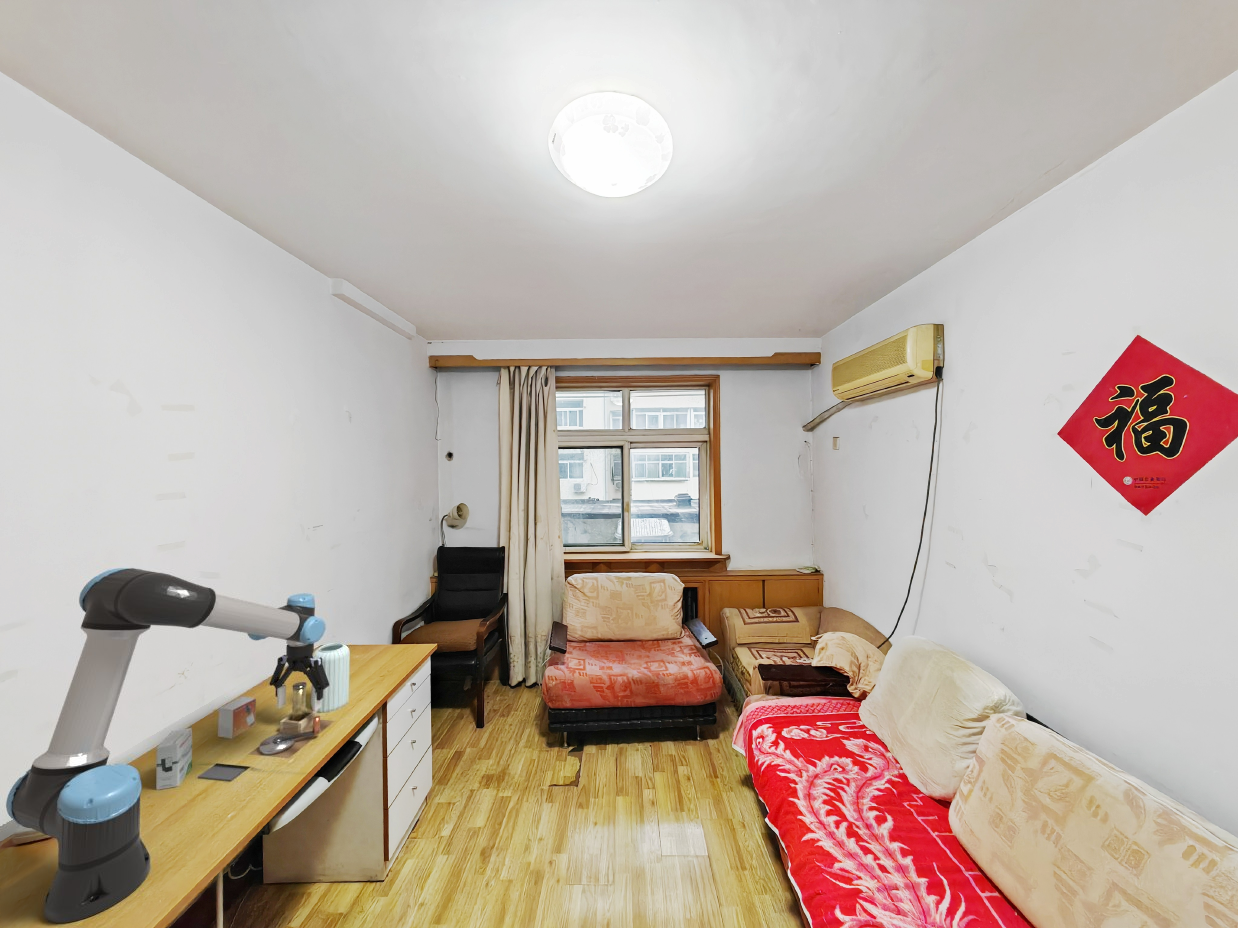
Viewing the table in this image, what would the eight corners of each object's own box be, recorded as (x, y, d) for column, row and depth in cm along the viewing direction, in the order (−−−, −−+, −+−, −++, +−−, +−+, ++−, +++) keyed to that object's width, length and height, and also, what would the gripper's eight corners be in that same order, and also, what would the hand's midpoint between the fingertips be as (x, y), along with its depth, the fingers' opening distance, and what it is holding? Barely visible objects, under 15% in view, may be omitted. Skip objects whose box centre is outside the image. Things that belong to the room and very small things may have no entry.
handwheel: (319, 743, 150) (319, 723, 150) (257, 757, 142) (257, 736, 142) (320, 728, 157) (320, 709, 157) (261, 741, 150) (261, 721, 150)
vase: (347, 697, 181) (348, 638, 181) (349, 711, 171) (351, 649, 171) (311, 705, 175) (312, 644, 174) (311, 720, 165) (312, 656, 165)
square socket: (300, 734, 155) (300, 723, 155) (279, 732, 155) (279, 721, 155) (316, 721, 162) (316, 711, 162) (296, 719, 163) (296, 709, 162)
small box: (231, 743, 151) (232, 710, 151) (217, 740, 152) (217, 707, 152) (255, 729, 159) (256, 697, 159) (241, 726, 160) (242, 695, 160)
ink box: (171, 770, 138) (172, 729, 138) (192, 767, 140) (193, 726, 139) (154, 790, 130) (155, 747, 130) (177, 787, 132) (178, 743, 131)
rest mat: (230, 781, 134) (230, 779, 134) (197, 778, 135) (197, 776, 135) (260, 758, 144) (260, 757, 144) (229, 755, 145) (229, 754, 145)
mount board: (289, 762, 143) (289, 757, 143) (248, 758, 144) (248, 753, 144) (334, 725, 163) (334, 720, 163) (298, 721, 164) (298, 717, 164)
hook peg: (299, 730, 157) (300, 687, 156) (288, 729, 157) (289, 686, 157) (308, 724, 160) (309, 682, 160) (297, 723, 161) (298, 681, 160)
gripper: (342, 640, 161) (341, 704, 161) (275, 635, 163) (273, 699, 163) (327, 649, 153) (325, 716, 154) (256, 644, 155) (255, 710, 156)
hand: (299, 707), depth 159 cm, fingers open, 12 cm apart
